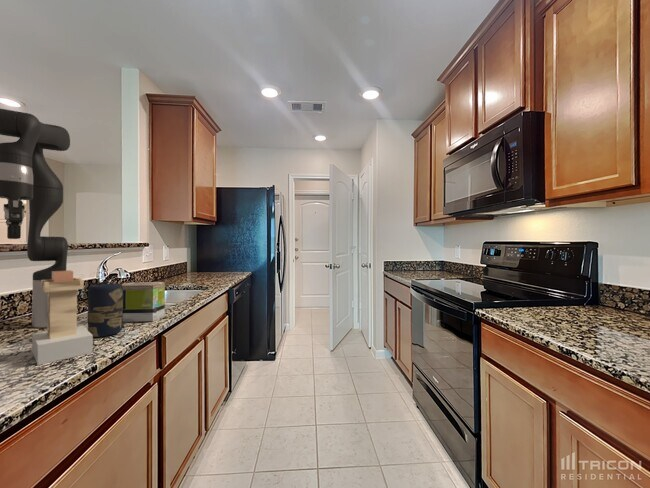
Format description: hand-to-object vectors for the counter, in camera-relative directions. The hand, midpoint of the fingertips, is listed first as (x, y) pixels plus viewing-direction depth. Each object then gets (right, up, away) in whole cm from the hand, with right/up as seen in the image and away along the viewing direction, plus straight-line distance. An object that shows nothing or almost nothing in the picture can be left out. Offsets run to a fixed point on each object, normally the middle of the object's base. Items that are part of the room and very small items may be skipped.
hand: (13, 238), depth 81 cm
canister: (+14, -33, +16) cm, 39 cm away
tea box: (+13, -33, +36) cm, 50 cm away
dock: (+14, -32, 0) cm, 35 cm away
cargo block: (+14, -13, 0) cm, 19 cm away
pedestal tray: (+14, -27, 0) cm, 30 cm away
